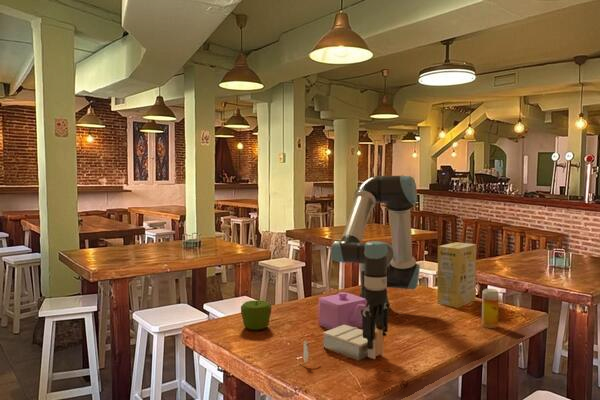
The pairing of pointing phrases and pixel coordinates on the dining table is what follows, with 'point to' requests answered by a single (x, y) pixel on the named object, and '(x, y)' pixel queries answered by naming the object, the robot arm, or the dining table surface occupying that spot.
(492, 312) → the beer can
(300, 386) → the dining table surface
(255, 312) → the apple
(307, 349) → the stand
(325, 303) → the purple knobbed cube
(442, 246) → the pasta box
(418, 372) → the dining table surface
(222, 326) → the dining table surface
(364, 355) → the grey rectangular box
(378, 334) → the lid
